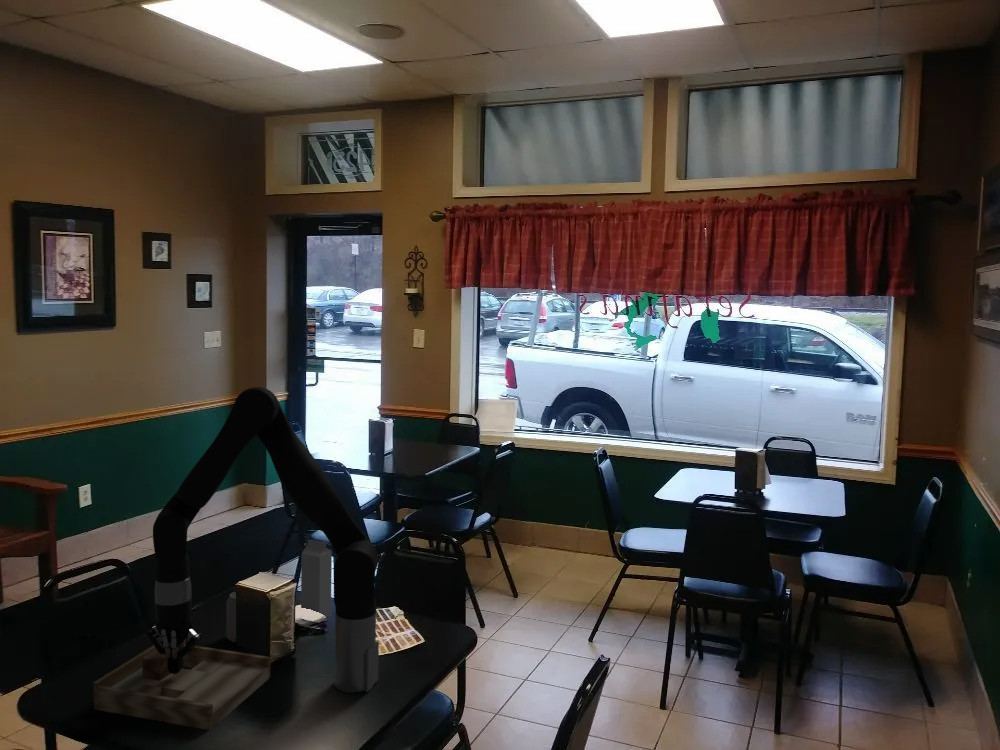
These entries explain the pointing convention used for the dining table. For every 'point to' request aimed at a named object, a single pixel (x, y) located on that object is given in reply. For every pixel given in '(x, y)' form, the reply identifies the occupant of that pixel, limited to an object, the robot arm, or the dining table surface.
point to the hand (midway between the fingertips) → (175, 672)
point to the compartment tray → (184, 687)
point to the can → (231, 617)
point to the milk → (316, 577)
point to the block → (155, 666)
